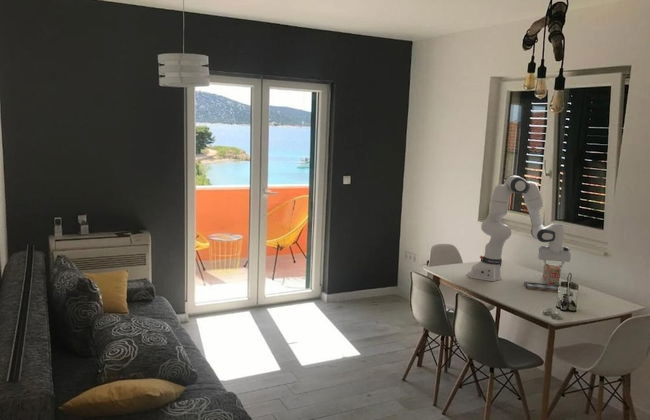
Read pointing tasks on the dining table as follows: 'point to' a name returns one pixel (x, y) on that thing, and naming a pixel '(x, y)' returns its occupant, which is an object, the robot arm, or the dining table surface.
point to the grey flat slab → (541, 286)
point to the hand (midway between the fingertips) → (553, 266)
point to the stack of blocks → (552, 274)
